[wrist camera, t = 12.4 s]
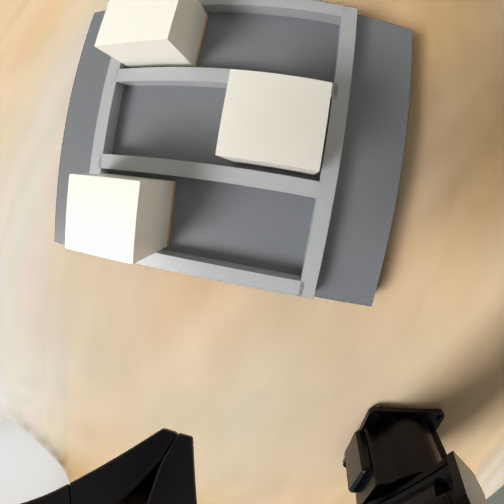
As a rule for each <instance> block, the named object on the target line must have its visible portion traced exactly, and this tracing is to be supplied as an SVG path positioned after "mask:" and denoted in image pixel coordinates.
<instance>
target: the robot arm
mask: <svg viewBox="0 0 504 504" xmlns="http://www.w3.org/2000/svg"><path fill="white" fill-rule="evenodd" d="M374 413H376V414H374ZM372 414H374V415H372ZM438 415H439V416H438ZM443 418H444V413H443V411H442V410H440V409H403V408H385V407H373V408H370V409H369V410H368V412H367V414H366V416H365V418H364V420H363V422H362V424H361V427H360V429H359V430H357V431H356V432H355V433H354V435H353V437H352V440H351V442H350V443H349V445H348V447H347V449H346V451H345V458H344V460H343V466H344V467H346V470H347V479H348V489H349V491H350V492H352V493H356V501H357V504H486V502H485V495H484V493H483V491H482V489H481V487H480V485H479V483H478V481H477V479H476V477H475V475H474V473H473V472H472V471H471V470H470V469H469V468H468V466H467V465H466V464H465V463H464V462H463V461H462V460H461V459H460V458H459V457H458V456H457V454H456V453H455V452H454V451H452V452H450V453H449V454H448V455H447V453H446V451H445V449H444V447H443V444H442V442H441V440H440V438H439V436H438V433H437V431H436V430H437V428H438V427H439V425H440V423H441V421H442V420H443ZM21 504H197V498H196V484H195V467H194V447H193V437H192V436H189V435H185V434H182V433H179V434H178V433H177V432H175V431H172V430H169V429H165V428H164V429H161V430H160V431H158V432H157V433H155V434H153V435H152V436H150V437H149V438H147V439H146V440H144V441H142V442H141V443H139V444H138V445H136V446H134V447H133V448H131V449H129V450H128V451H126V452H124V453H123V454H121V455H119V456H118V457H116V458H114V459H113V460H111V461H109V462H107V463H106V464H104V465H102V466H100V467H99V468H97V469H95V470H93V471H92V472H90V473H88V474H86V475H84V476H82V477H81V478H79V479H77V480H75V481H73V482H71V483H70V485H69V484H67V485H65V486H63V487H61V488H59V489H57V490H55V491H53V492H51V493H49V494H47V495H44V496H42V497H39V498H36V499H34V500H31V501H28V502H25V503H21Z"/></svg>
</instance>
